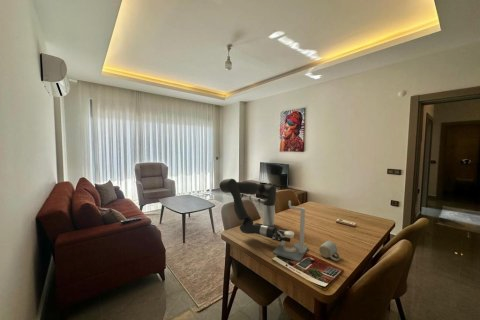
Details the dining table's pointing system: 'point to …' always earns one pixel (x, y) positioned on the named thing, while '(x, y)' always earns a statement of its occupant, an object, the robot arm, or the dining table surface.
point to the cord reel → (290, 245)
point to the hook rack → (298, 248)
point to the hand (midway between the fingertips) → (292, 237)
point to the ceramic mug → (329, 250)
